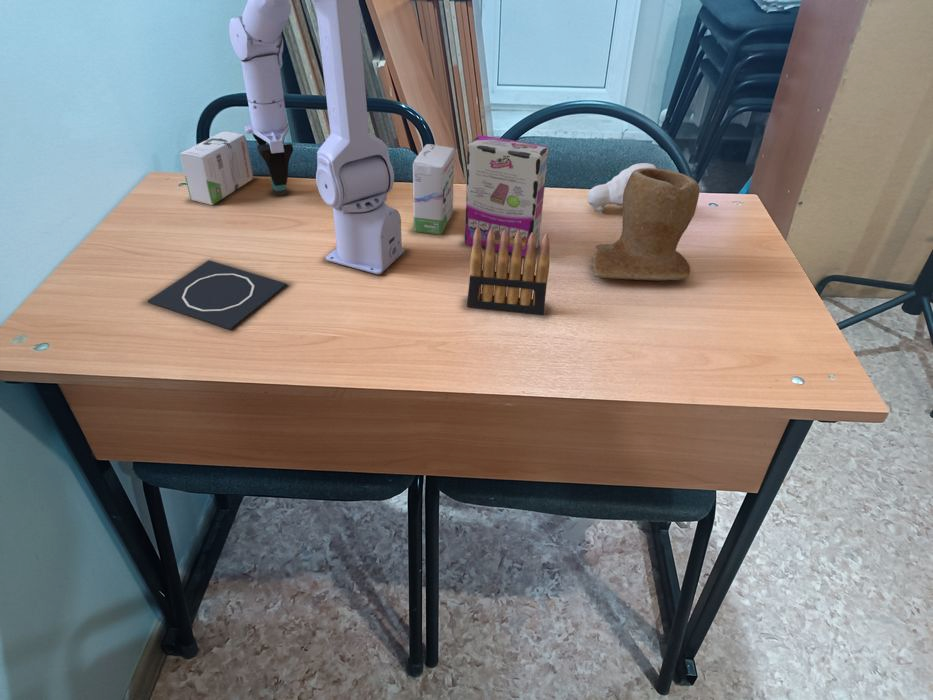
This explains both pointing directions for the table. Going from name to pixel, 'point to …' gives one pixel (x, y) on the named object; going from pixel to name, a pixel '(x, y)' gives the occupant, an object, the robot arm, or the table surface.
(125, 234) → the table surface
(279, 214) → the table surface
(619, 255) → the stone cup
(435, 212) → the ink box
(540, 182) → the candy bar box
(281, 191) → the marker
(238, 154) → the ink box
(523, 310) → the ammunition clip
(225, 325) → the mat
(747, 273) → the table surface
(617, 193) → the white rounded piece
